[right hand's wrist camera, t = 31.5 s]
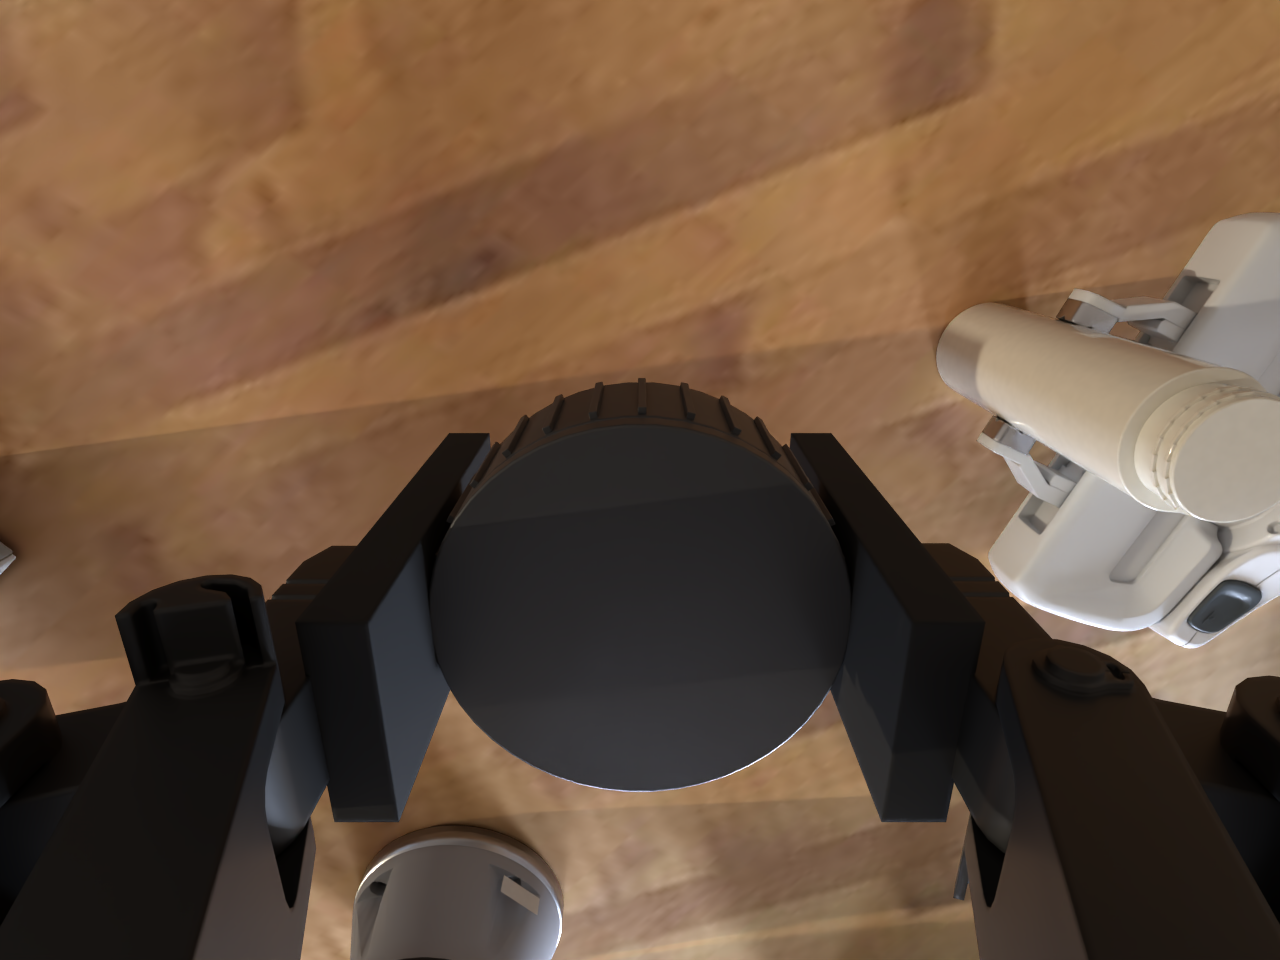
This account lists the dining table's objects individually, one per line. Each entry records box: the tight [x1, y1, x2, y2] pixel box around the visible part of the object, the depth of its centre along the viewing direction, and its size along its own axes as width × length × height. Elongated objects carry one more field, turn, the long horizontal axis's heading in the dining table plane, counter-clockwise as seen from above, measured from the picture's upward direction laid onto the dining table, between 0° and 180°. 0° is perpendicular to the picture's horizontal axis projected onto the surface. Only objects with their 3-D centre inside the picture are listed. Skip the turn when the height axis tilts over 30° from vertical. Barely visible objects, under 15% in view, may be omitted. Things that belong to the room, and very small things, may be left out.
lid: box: [429, 378, 852, 792], centre depth 11 cm, size 6×6×2 cm
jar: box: [936, 302, 1280, 523], centre depth 32 cm, size 5×5×18 cm
